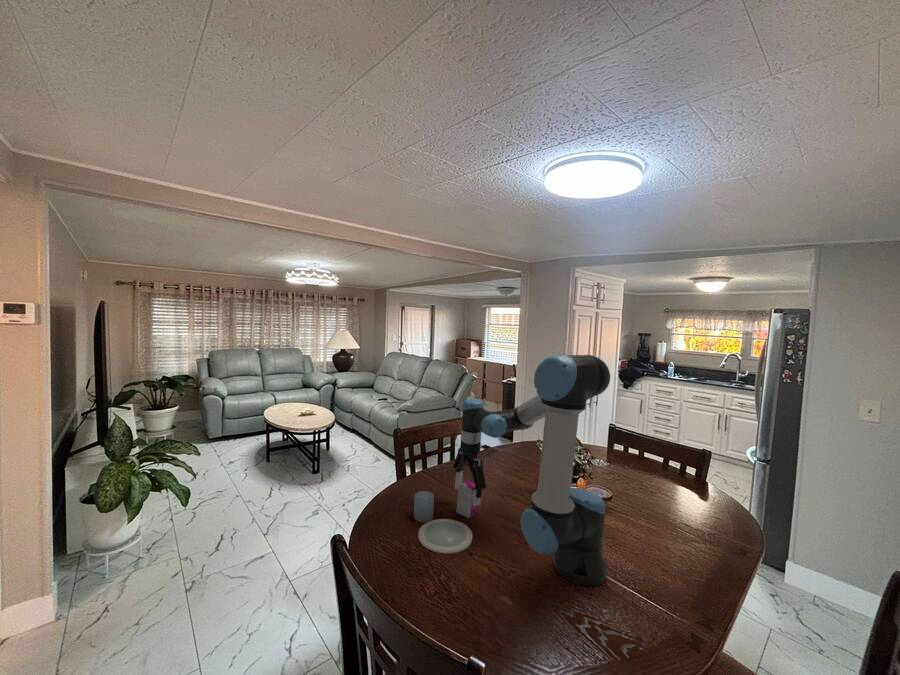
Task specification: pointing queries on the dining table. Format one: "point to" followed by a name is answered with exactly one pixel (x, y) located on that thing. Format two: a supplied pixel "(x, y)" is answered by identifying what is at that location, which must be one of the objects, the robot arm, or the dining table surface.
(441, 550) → the dish
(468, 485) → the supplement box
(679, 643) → the dining table surface
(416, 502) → the cylinder block
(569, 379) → the robot arm
